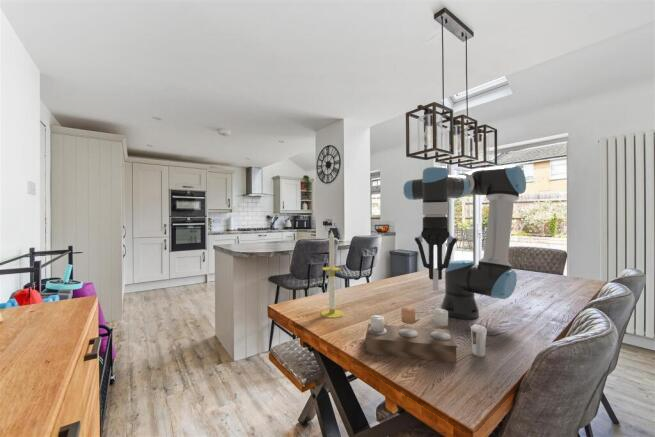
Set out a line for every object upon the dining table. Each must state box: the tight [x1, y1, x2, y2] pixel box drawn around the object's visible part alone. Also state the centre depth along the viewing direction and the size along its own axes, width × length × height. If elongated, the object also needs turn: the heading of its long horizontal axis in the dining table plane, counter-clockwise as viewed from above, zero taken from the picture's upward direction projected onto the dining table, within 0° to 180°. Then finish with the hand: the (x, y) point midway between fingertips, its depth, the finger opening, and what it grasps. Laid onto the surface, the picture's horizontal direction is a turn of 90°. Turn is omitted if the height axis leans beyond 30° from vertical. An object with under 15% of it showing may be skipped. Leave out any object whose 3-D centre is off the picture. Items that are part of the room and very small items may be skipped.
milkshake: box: [468, 323, 488, 358], centre depth 90 cm, size 4×5×10 cm
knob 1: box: [370, 314, 385, 332], centre depth 96 cm, size 4×4×4 cm
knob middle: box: [400, 306, 416, 325], centre depth 94 cm, size 4×4×4 cm
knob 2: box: [432, 308, 449, 327], centre depth 92 cm, size 4×4×4 cm
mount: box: [364, 323, 457, 364], centre depth 94 cm, size 27×12×5 cm, turn 77°
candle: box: [320, 229, 344, 319], centre depth 126 cm, size 10×10×38 cm
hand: (435, 289), depth 92 cm, fingers closed
